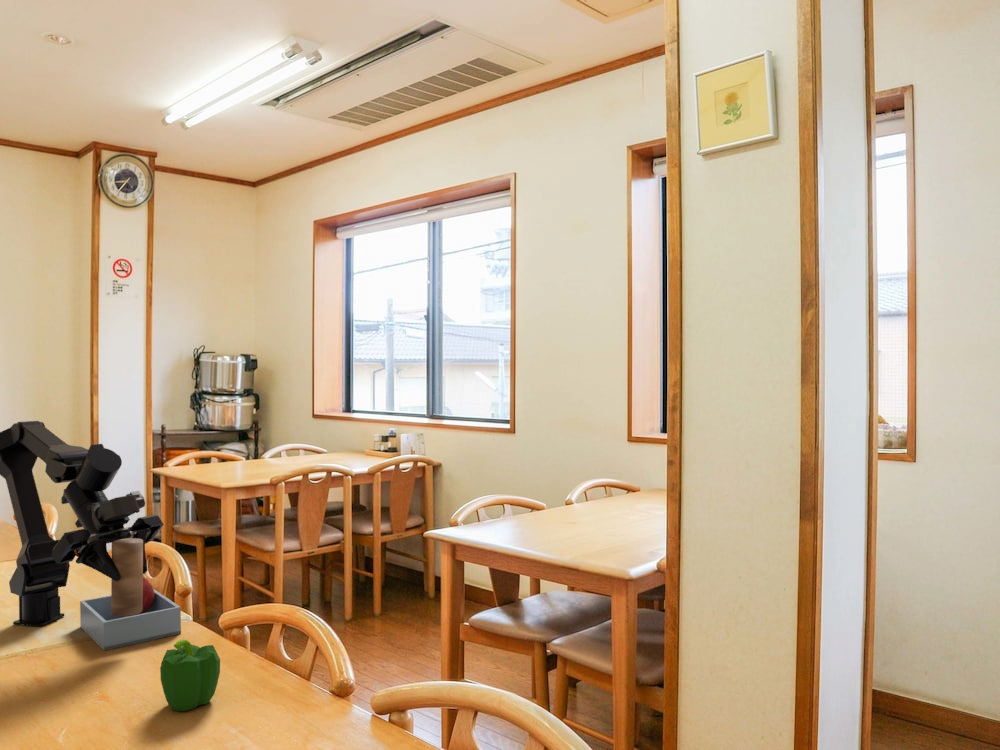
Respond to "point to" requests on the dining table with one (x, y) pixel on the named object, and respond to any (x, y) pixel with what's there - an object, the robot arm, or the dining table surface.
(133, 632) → the tote
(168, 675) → the bell pepper
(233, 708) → the dining table surface
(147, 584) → the onion
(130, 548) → the canister
